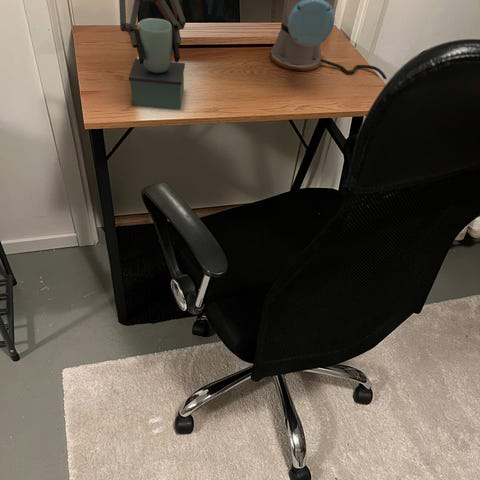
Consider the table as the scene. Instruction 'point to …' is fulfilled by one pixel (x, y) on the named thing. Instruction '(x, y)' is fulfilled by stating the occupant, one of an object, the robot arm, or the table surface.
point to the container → (157, 86)
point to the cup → (156, 44)
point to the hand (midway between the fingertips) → (160, 60)
